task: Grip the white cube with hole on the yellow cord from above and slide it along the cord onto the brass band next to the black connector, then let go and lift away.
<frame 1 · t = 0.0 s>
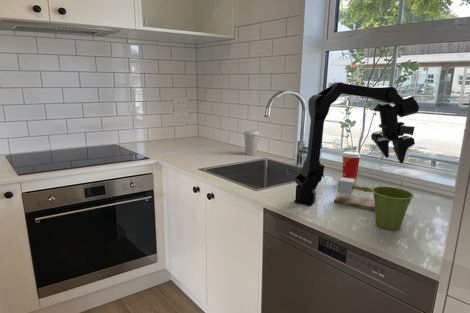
hand: (394, 160, 126), 15 cm above the countertop, tool pointing down, fingers open, 9 cm apart
plant pot: (388, 226, 105), on the countertop
paper cup: (348, 183, 149), on the countertop
coffee cup: (250, 154, 208), on the countertop
cord clamp board: (360, 203, 124), on the countertop
white cube with hole: (346, 185, 125), point 6 cm above the countertop, slide at -7.0 cm
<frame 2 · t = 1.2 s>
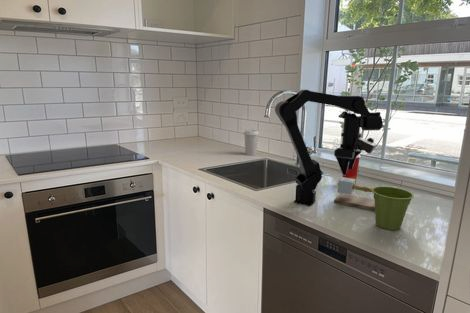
hand: (347, 171, 124), 11 cm above the countertop, tool pointing down, fingers open, 9 cm apart
nothing on the countertop moved.
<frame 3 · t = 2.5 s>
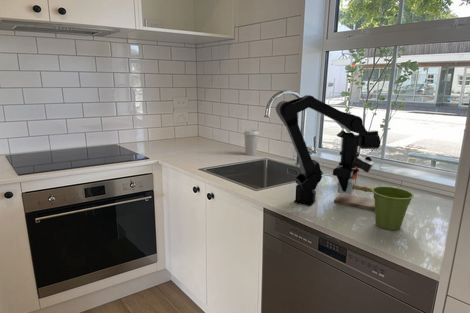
hand: (346, 189, 126), 5 cm above the countertop, tool pointing down, fingers closed on white cube with hole, 5 cm apart
white cube with hole: (346, 185, 125), point 6 cm above the countertop, slide at -7.0 cm, touching gripper
everything else where it was.
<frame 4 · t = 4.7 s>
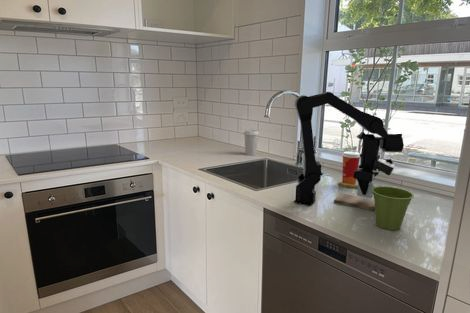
hand: (365, 192, 122), 5 cm above the countertop, tool pointing down, fingers closed on white cube with hole, 5 cm apart
white cube with hole: (366, 189, 122), point 6 cm above the countertop, slide at 0.1 cm, touching gripper
everything else where it was.
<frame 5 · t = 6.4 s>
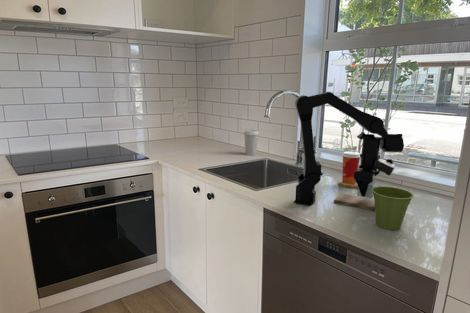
hand: (366, 193, 122), 5 cm above the countertop, tool pointing down, fingers open, 9 cm apart
white cube with hole: (366, 189, 122), point 6 cm above the countertop, slide at 0.2 cm
everything else where it was.
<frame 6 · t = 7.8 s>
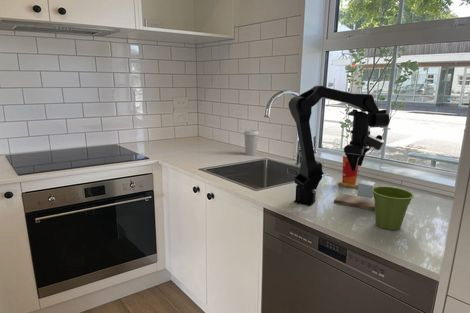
hand: (356, 168, 128), 12 cm above the countertop, tool pointing down, fingers open, 9 cm apart
nothing on the countertop moved.
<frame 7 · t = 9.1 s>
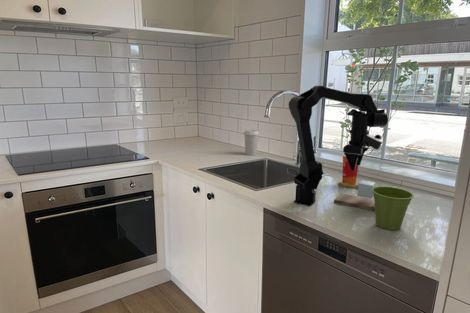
hand: (355, 167, 128), 12 cm above the countertop, tool pointing down, fingers open, 9 cm apart
nothing on the countertop moved.
at the end: white cube with hole slide at 0.2 cm; the gripper is holding nothing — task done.
